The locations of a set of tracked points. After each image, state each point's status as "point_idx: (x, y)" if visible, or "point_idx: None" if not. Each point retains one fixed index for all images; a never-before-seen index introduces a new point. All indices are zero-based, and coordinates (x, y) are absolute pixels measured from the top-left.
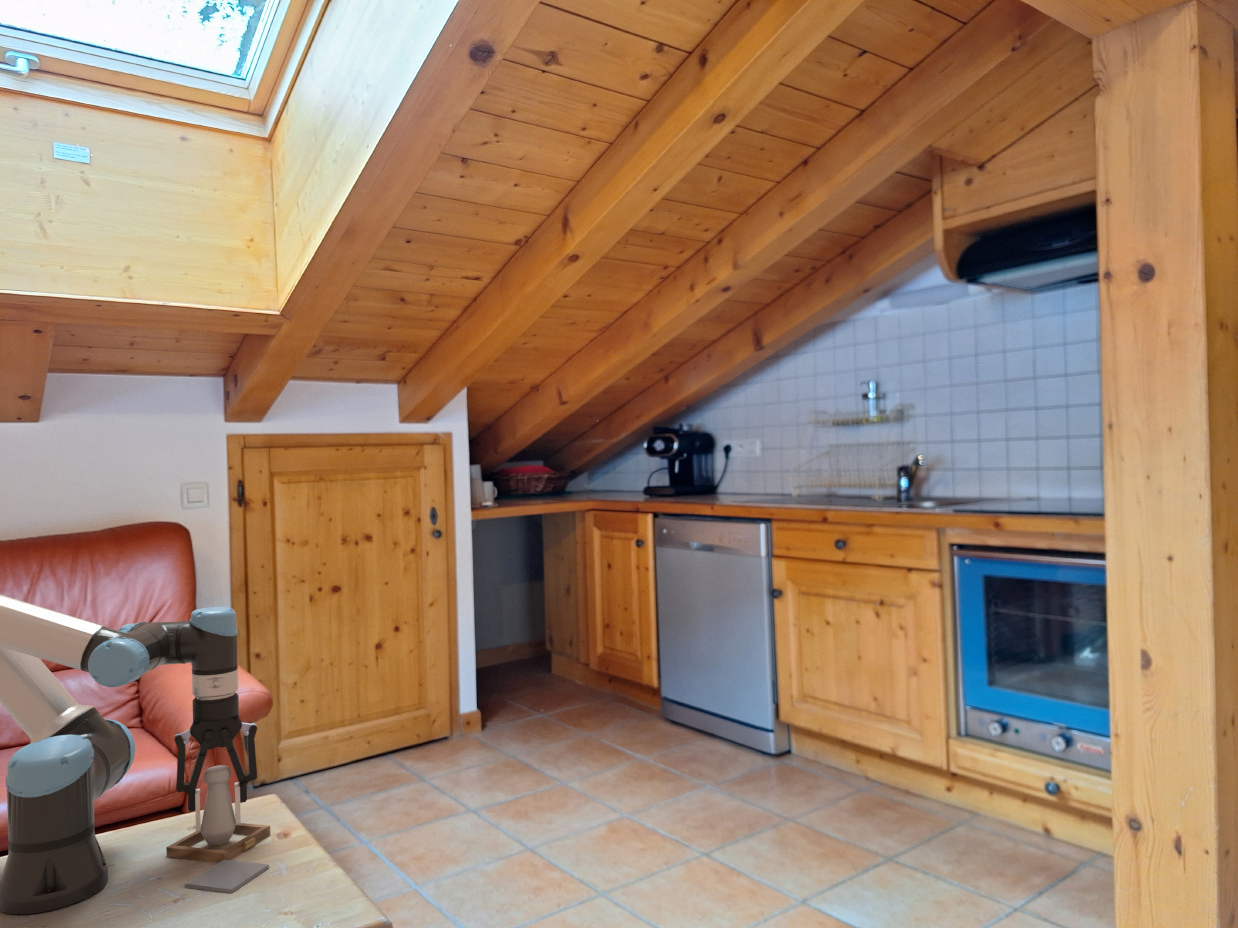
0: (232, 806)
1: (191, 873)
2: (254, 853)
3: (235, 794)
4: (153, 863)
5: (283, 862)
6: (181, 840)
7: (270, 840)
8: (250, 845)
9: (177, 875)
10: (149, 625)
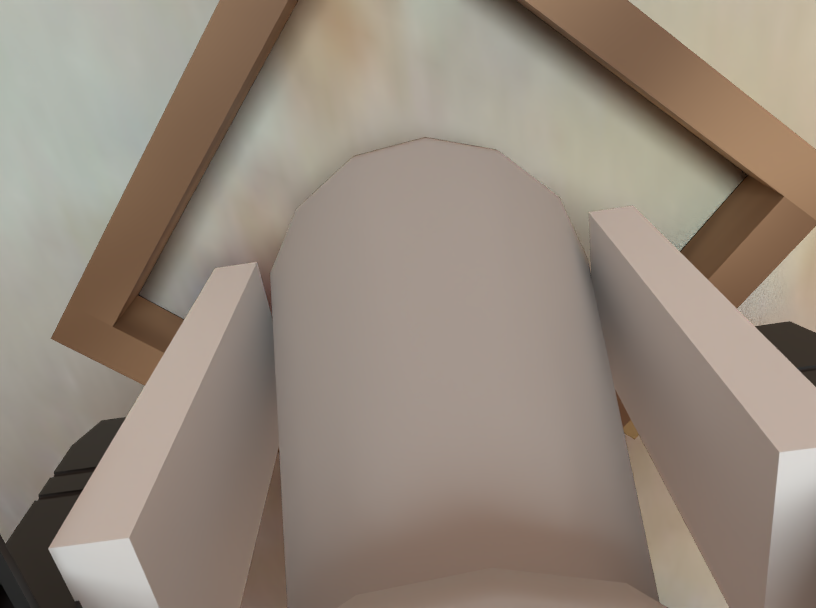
0: (605, 348)
1: None
2: None
3: (708, 565)
4: (35, 388)
5: None
6: (128, 243)
7: (791, 283)
8: None
9: (252, 579)
10: None
